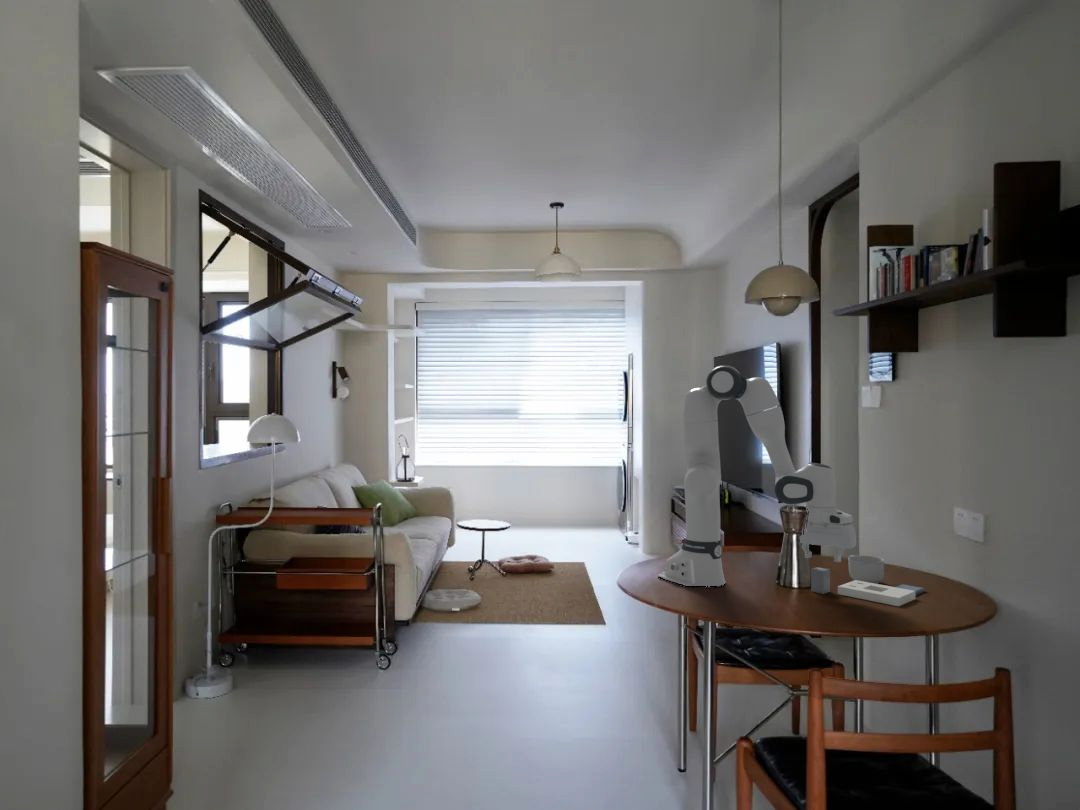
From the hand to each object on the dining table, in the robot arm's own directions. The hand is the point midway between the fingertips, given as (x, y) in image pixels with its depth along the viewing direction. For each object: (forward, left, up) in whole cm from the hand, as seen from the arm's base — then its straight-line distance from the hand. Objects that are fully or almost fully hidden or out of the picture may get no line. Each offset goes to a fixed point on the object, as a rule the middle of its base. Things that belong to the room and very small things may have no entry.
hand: (822, 559), depth 220 cm
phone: (+17, +19, -10) cm, 27 cm away
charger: (-1, 0, -10) cm, 10 cm away
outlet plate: (+13, +7, -10) cm, 18 cm away
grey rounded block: (+2, +23, -10) cm, 25 cm away
